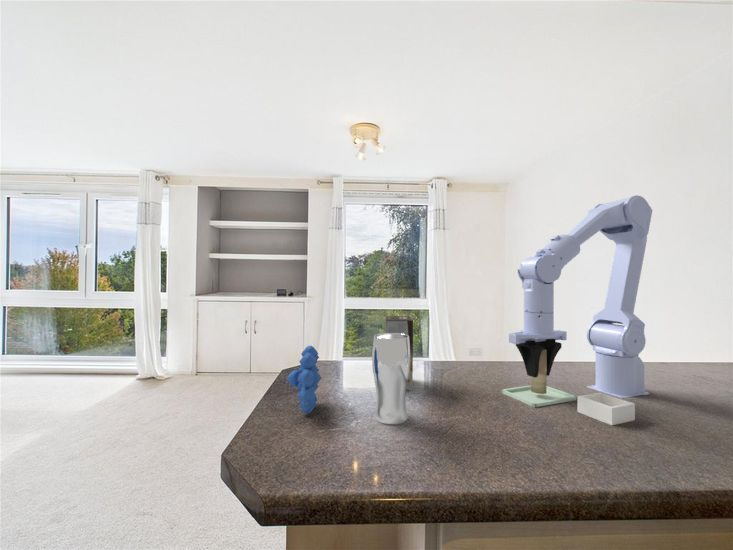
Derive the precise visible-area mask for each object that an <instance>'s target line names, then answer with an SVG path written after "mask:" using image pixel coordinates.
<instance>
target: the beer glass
mask: <svg viewBox="0 0 733 550" xmlns="http://www.w3.org/2000/svg"><path fill="white" fill-rule="evenodd" d="M371 356H372V357H371V360H372V361H371V362H372V364H371V365H372V374H373V380H374V386H375V391H376V393H375V394H376V405H375V410H374V419H375V420H376V421H377V422H378V423H381V424H384V425H388V426H389V425H392V426H393V425H394V426H395V425H396V426H397V425H401V424H404V423H405V422H406V421H407V420H408V411H407V403H406V397H407V396H406V394H407V390H406V388H407V383H408V377H409V371H410V343H409V336H408V335H406V334H400V333H385V332H381V333H375V334H373V343H372V355H371Z"/></svg>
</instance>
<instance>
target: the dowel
mask: <svg viewBox="0 0 733 550" xmlns="http://www.w3.org/2000/svg"><path fill="white" fill-rule="evenodd" d="M547 377H548V376H547V350H546V349H543V350H542V352H541V355H540V360H539V370H538V376H537V377H532V376H530V385H531V391H532V392H534V393H538V394H546V386H548V385H547V381H548V380H547Z"/></svg>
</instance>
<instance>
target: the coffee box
mask: <svg viewBox="0 0 733 550" xmlns="http://www.w3.org/2000/svg"><path fill="white" fill-rule="evenodd" d="M384 325H385V329H384V330H385V332H384V333H400V334H406V335H408V336H409V343H410V371H409V377H408V383H407V388H406V391H412V390H413V382H414V381H413V380H414V379H413V370H414V368H413V367H414V366H413V365H414V364H413V363H414V359H413V357H414V356H413V355H414V352H413V351H414V320H413V319H412V318H411V316H407V315H406V316H403V315H393V316H391V315H390V316H389V315H388V316H387V315H386V316H385V324H384Z"/></svg>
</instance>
